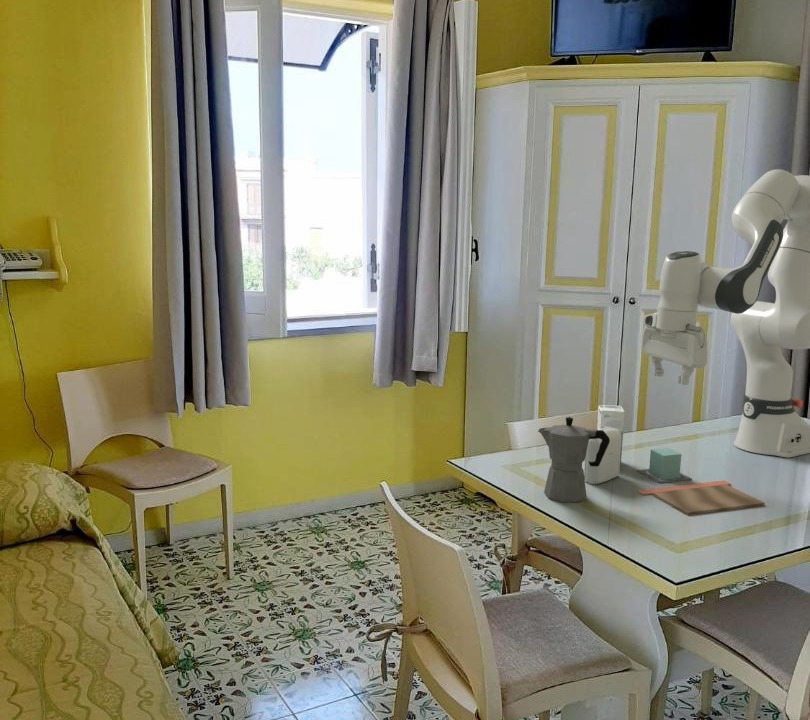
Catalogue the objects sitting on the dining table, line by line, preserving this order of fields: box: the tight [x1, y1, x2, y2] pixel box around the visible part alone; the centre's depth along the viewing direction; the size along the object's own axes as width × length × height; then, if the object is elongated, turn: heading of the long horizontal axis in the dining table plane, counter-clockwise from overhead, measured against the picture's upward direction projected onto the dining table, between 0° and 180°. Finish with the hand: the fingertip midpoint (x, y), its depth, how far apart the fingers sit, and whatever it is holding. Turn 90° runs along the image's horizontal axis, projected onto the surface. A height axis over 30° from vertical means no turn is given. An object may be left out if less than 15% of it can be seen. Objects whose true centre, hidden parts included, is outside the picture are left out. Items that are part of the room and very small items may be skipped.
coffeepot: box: [537, 416, 610, 504], centre depth 176 cm, size 15×9×18 cm, turn 75°
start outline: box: [636, 468, 693, 484], centre depth 192 cm, size 9×9×1 cm
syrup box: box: [596, 404, 626, 467], centre depth 199 cm, size 6×6×14 cm
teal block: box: [648, 447, 682, 480], centre depth 192 cm, size 5×5×6 cm
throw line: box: [636, 480, 732, 496], centre depth 183 cm, size 24×2×1 cm, turn 108°
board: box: [652, 485, 766, 516], centre depth 176 cm, size 20×12×1 cm, turn 108°
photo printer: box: [584, 427, 621, 485], centre depth 188 cm, size 10×4×12 cm, turn 132°
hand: (670, 380), depth 188 cm, fingers open, 8 cm apart
